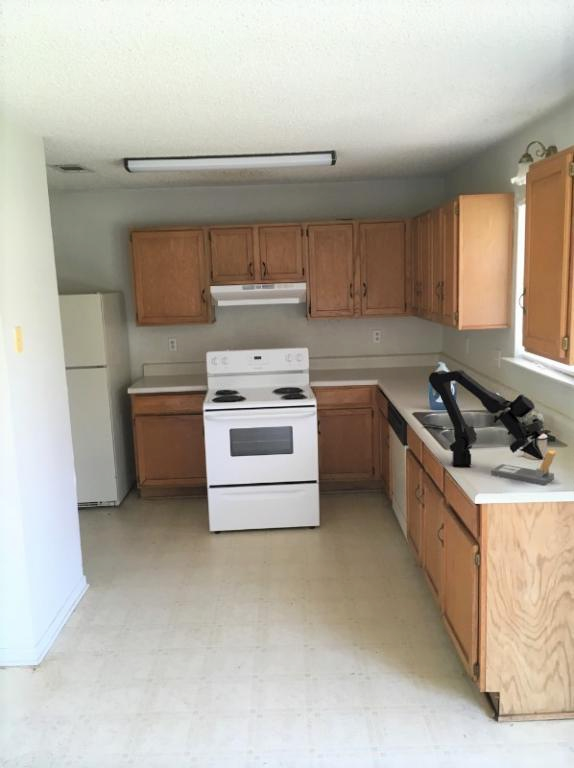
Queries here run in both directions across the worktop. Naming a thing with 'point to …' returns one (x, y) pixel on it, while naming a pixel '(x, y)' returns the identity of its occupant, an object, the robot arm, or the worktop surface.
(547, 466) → the orange lever
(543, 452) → the teacup with lid
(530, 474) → the switch panel
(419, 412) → the worktop surface
